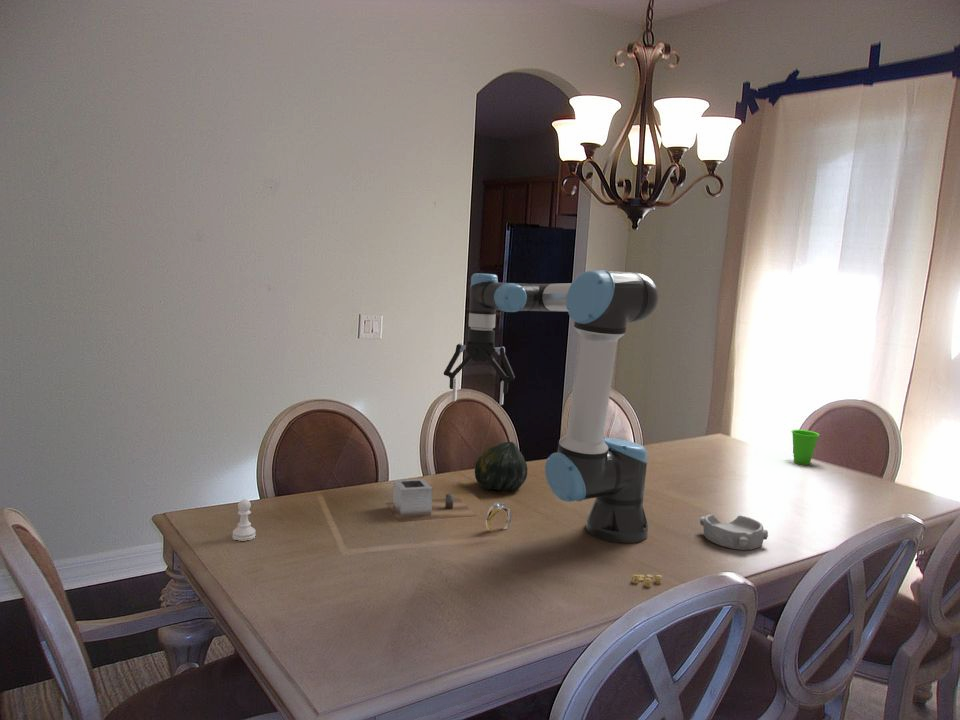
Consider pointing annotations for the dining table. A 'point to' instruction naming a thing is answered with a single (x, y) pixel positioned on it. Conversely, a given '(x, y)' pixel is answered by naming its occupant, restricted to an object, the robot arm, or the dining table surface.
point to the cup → (803, 445)
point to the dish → (734, 532)
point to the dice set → (647, 579)
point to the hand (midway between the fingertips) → (477, 402)
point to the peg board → (439, 510)
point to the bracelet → (491, 514)
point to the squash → (501, 468)
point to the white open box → (412, 497)
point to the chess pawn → (244, 523)
